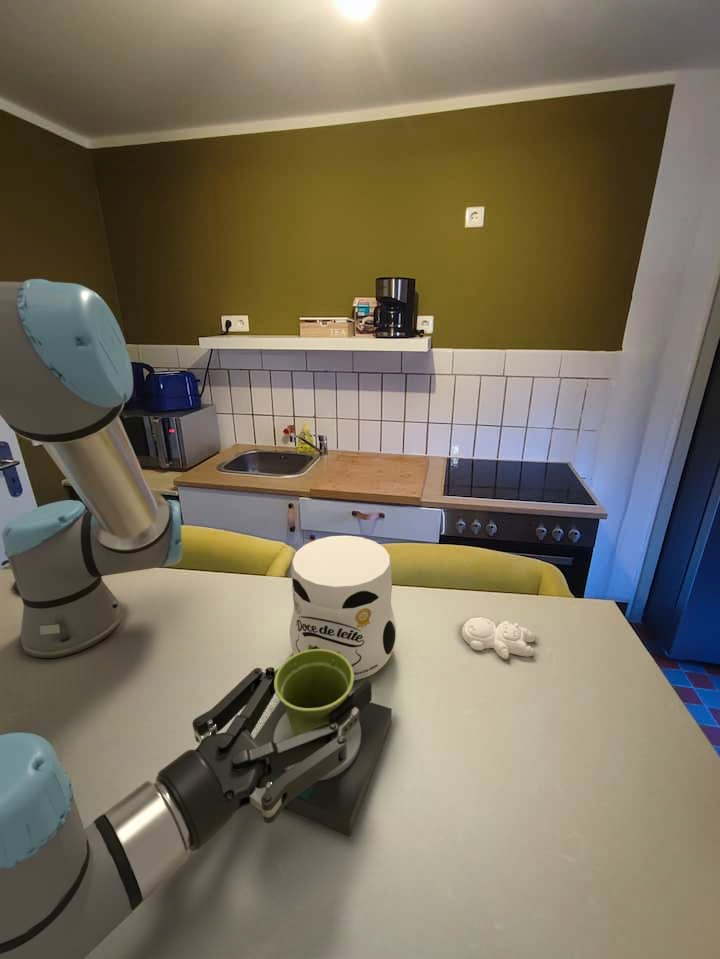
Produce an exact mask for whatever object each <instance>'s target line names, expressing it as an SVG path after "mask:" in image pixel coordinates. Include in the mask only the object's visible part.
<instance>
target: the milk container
mask: <svg viewBox="0 0 720 959" xmlns="http://www.w3.org/2000/svg"><path fill="white" fill-rule="evenodd" d="M290 576H291V581H292V584H291V590H292V591H291V592H292V598H293V599H292V600H293V611H292V615H291V620H290V624H289V640H290V643H291V644H290V645H291V649H292V652H293V654H294V655H295V654H297V653H300V652H303V651H306V650H310V649H312V648H313V647H314V646H317V647H318V648H319V649H326V650H331V651H334V652H337V653H339V654H340V655H342V656H343V657H345V658H346V659H347V660H348V661H349V663H350V664H351V666H352V669H353V672H354V682H358V681H361V680H364V679H366V678H369V677H372V676H373V675H375V674H376V673H377V672H378V671H380V670H382V669H383V667H384V666H385V665H386V664H387V662H388V661H389V659H390V658H391V657H392V654H393V651H394V648H395V643H396V637H397V621H396V618H395V614H394V611H393V608H392V592H393V583H392V582H393V581H392V560H391V555H390V554H389V552H388V551H387V549H386V547H384V546H383V545H381V544H379V543H378V542H377V541H374V540H371V539H368V538H366V537H364V536H363V537H362V536H355V535H354V536H353V535H331V536H326V537H322V538H317V539H314V540H313V541H310V542H308V543H306V544H304V545H303V546H301V548H299V549H298V550H297V551H296V552H295V554H294V556H293V558H292V560H291V570H290Z"/></svg>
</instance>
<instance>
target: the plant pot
mask: <svg viewBox="0 0 720 959" xmlns="http://www.w3.org/2000/svg"><path fill="white" fill-rule="evenodd" d="M278 668H279V669H278ZM278 668H277V669H278V671H277V673H276V676H275V680H274V688H275V695H276V697H277V698H278V700H279V701H281V702H282V703H283V705H284V706H285V709H286V712H287V715H288V718H289V722H290V725H291V729H292V732H293V736H297V735H299V734H302V733H304V732H307V731H310V730H312V729H315V728H317V727H320V726H323V725H325V724H328V723H329V714H330V713H331V712H333V711H334V710H335V709H336V708H337V707H338V706H339V705H340V704H341V703H342V702H343V701H345V700H346V699H347V697H348V695H349V694H350V693H351V691H352V689H353V686H354V683H355V681H354V672H353V669H352V666H351V664H350V663H349V661H348V660H347V659H346V658H345V657H343V656H342V655H340V654H339V653H337V652H334V651H331V650H326V649H312V650H306V651H303V652H300V653H297V654H295V655H292V656H290V657H289V658H288V659H286V660H285V661H284V662H283V663H282V664H281V665H280V666H279V667H278ZM292 668H293V669H292Z"/></svg>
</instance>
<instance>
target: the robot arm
mask: <svg viewBox="0 0 720 959" xmlns="http://www.w3.org/2000/svg"><path fill="white" fill-rule="evenodd" d="M133 373H134V372H133V368H132V361H131V358H130V355H129V353H128V351H127V343H126V340H125V336H124V335H123V332H122V330H121V327H120V325H119V323H118V321H117V318H116V317H115V315H114V314H113V312H112V310H111V308H110V307H109V306H108V304H107V303H106V301H105V300H104V299H103V298H102V297H101V296H100V295H99V294H98V293H97V292H95V291H94V290H92V289H90V288H89V287H86V286H85V285H82V284H79V283H73V282H60V281H59V282H58V281H55V282H54V281H50V280H48V279H45V278H44V279H43V278H32V279H27V280H25V281H0V417H1V418H2V419H3V420H4V422H5V423H6V424H7V426H8V427H9V428H10V429H11V430H12V431H13V432H14V433H15V434H16V435H18V436H19V437H21V438H23V439H25V440H28V441H31V442H35V443H39V444H41V445H42V446H43V447H44V449H45V450H46V452H47V453H48V454H49V456H50V457H51V459H52V460H53V461H54V463H55V464H56V466H57V467H58V469H59V470H60V472H61V473H62V474H63V476H64V477H65V478H66V480H67V482H68V483H69V484H70V486H71V487H72V488H73V490H74V491H75V492H76V494H77V495H78V496H79V498H80V499H81V501H80V500H73V499H70V500H69V499H66V500H60V501H55V502H50V503H47V504H43V505H40V506H38V507H35V508H33V509H30V510H27V511H25V512H23V513H21V514H19V515H18V516H16V517H14V518H13V519H12V520H10V521H9V522H8V523H6V525H5V526H4V527H3V529H2V532H1V537H2V542H3V548H4V555H5V557H6V558H7V559H6V560H3V561H2V562H1V566H5V565H7V564H9V567H10V569H11V572H12V575H13V577H14V580H15V581H14V583H13V588H14V590H15V591H16V592H17V593H19V595H20V597H21V600H22V601H21V602H22V604H23V610H22V618H21V629H20V642H21V646H22V648H23V650H24V652H25V653H26V654H28V656H31V657H33V658H39V659H54V658H61V657H66V656H70V655H73V654H77V653H79V652H82V651H84V650H86V649H89V648H90V647H93V646H95V645H96V644H98V643H100V642H102V641H103V640H105V639H106V638H107V637H109V636H110V635H111V634H112V633H113V632H114V631H115V630H116V629H117V628H118V626H119V625H120V623H121V621H122V619H123V610H122V606H121V604H120V602H119V600H118V598H117V597H116V595H115V594H114V593H113V592H112V591H111V590H110V588H109V587H108V585H107V584H106V583H105V582H104V580H103V577H105V576H113V575H120V574H124V573H125V574H126V573H131V572H137V571H138V572H139V571H145V570H151V569H157V568H158V569H163V568H165V567H169V566H174V565H176V564H178V563H180V562H181V560H182V559H183V546H182V545H183V542H182V541H183V540H182V517H181V516H182V515H181V503H180V502H179V501H178V500H176V499H175V500H172V499H165V497H164V496H163V495H162V494H160V493H159V492H158V491H156V490H154V489H152V488H151V487H150V485H149V482H148V481H147V478H146V476H145V474H144V471H143V469H142V466H141V465H140V462H139V460H138V456H137V455H136V453H135V451H134V447H133V446H132V444H131V441H130V438H129V436H128V434H127V432H126V430H125V427H124V425H123V422H122V420H121V418H120V415H121V413H122V411H123V409H124V406H125V403H127V402H129V400H130V399H131V397H132V395H133V390H134V374H133ZM86 508H87V509H86ZM312 649H319V648H318V647H317V646H314V647H313V648H312ZM312 649H310V650H312ZM279 668H280V667H278V668H277V669H275V668H274V667H272V666H270V667H267V668H266V669H264V671H265V672H264V671H263V670H262V668H260V667H256V668H253V670H251V671H250V672H249V673H248V674H247V675H246V676H245V677H244V678H243V679H242V680H240V682H239V683H237V685H235V687H234V688H232V689H231V690H230V691H229V692H228V693H227V694H226V695H225V696H224V697H223V698H222V699H221V700H219V701H218V703H216V704H215V705H214V706H213V707H212V708H211V709H210V710H207V711H206V712H204V713H203V714H200V715H198V716H197V717H195V718H194V719H193V720H192V728H193V734H194V739H195V742H197V743H199V744H198V746H197V747H196V748H195V749H188V750H186V751H185V752H183V753H182V754H180V755H179V756H178V757H177V758H175V759H173V761H171V762H169V763H168V764H167V765H166V766H164V767H162V769H161V770H159V771H158V773H157V776H156V777H155V782H153V781H151V780H145V781H144V782H143V783H141V784H140V785H139V786H137V787H136V788H135V789H134V790H132V791H131V792H130V793H128V794H127V795H126V796H124V797H123V798H122V799H121V800H118V802H117V803H115V804H114V805H113V806H111V807H110V808H109V809H108V810H106V811H105V812H104V813H103V814H101V815H99V816H97V818H94V821H92V822H91V823H90V824H89V825H87V826H86V827H84V824H83V821H82V818H81V814H80V811H79V809H78V806H77V802H76V799H75V796H74V788H73V787H72V779H71V778H70V776H69V774H68V772H67V771H65V769H64V767H63V766H62V763H61V761H60V760H59V758H58V754H57V753H56V752H55V749H54V747H53V746H52V744H51V743H50V742H49V741H48V740H47V739H46V738H45V737H43V736H40V735H38V734H35V733H32V732H9V733H4V734H0V959H85V958H87V956H89V955H90V953H92V952H93V951H94V950H95V949H96V948H97V947H98V946H99V945H100V944H101V943H102V942H103V941H104V940H105V939H106V938H107V937H109V935H111V933H113V931H115V930H116V928H118V927H119V926H120V925H121V924H122V923H123V922H124V921H125V920H126V919H127V918H128V917H129V916H130V915H131V914H132V913H133V911H134V910H136V909H137V908H138V907H139V906H140V905H141V904H142V903H143V902H144V901H145V900H146V899H147V898H148V897H149V896H151V895H152V894H153V893H154V892H155V891H156V890H157V889H158V888H159V887H160V886H161V885H163V883H164V882H165V881H167V880H168V879H169V878H170V877H171V876H172V875H173V874H174V873H175V872H176V871H177V870H179V868H181V867H182V865H183V864H185V863H186V862H187V860H188V850H190V851H192V852H194V851H200V849H201V848H203V847H204V846H205V845H206V844H207V843H208V841H210V840H211V839H212V838H213V837H214V836H215V835H216V834H217V833H218V832H219V831H220V830H221V829H223V828H224V827H225V825H227V824H228V822H229V821H230V819H231V818H232V816H233V815H234V814H235V813H236V812H237V811H238V810H240V809H242V808H245V807H247V806H249V805H252V806H253V807H255V808H256V809H257V810H259V811H260V812H261V813H262V818H263V821H264V822H265V823H266V824H271V823H273V822H274V821H275V820H276V819H277V818H278V816H279V815H280V814H281V812H282V811H283V810H284V808H285V805H286V804H287V803H288V802H290V801H291V800H293V799H294V798H295V797H297V796H298V795H299V794H301V793H302V792H304V791H305V790H306V789H308V788H309V787H310V786H312V785H313V784H314V783H316V782H317V781H319V780H320V779H321V778H323V777H324V776H325V775H327V774H328V773H330V772H331V771H332V770H334V769H335V768H336V767H338V766H339V765H340V764H342V763H343V762H345V761H346V759H347V743H346V738H345V737H344V736H345V735H346V734H347V733H348V732H349V731H350V730H351V728H353V727H354V726H355V725H356V724H357V723H358V720H359V712H360V711H361V710H362V709H363V708H364V707H365V706H366V705H367V704H368V703H369V702H371V701H372V695H373V694H372V687H373V686H372V685H373V684H372V682H370V681H368V679H366V680H365V681H364V682H362V684H360V685H359V686H358V688H356V689H355V690H354V691H353V692H352V693H351V694H350V696H349V697H348V698H347V699H346V700H345V701H343V702H342V703H341V704H340V705H339V706H338V707H337V708H336V709H335V710H334V711H333V712H331V713H330V714H329V723H328V724H325V725H323V726H320V727H317V728H315V729H312V730H310V731H307V732H304V733H302V734H299V735H297V736H294V737H291V738H289V739H286V740H284V741H281V742H278V743H274V742H269V743H266V744H264V745H262V744H261V743H260V742H258V741H256V740H254V737H253V735H252V733H253V732H254V729H255V728H256V726H257V725H258V723H259V721H260V719H261V718H262V716H263V714H264V713H265V711H266V710H267V708H268V706H269V705H270V703H271V701H272V700H273V697H274V696H275V695H276V692H275V688H274V680H275V676H276V673H277V671H278V669H279ZM292 669H293V668H292ZM232 720H233V721H232ZM231 721H232V722H231ZM230 722H231V723H230ZM229 723H230V725H229V726H228V728H227V729H226V731H224V732H220V731H222V730H223V729H224V727H226V726H227V725H228V724H229ZM219 732H220V733H219ZM266 758H269V763H268V764H266ZM299 762H300V763H299ZM296 763H298V764H297V765H295V766H294V767H292V768H291V769H289V770H288V771H286V772H285V773H283V774H282V775H281V776H279V777H278V778H277V779H276V780H275V781H274V782H273V784H272V782H268V783H267V784H266V786H265V787H264V788H259V787H260V784H261V781H264V780H266V779H269V778H271V777H273V776H276V775H277V774H278V773H279V771H280V770H282V769H284V768H287V767H289V766H292V765H294V764H296Z"/></svg>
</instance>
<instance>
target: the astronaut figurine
mask: <svg viewBox="0 0 720 959" xmlns="http://www.w3.org/2000/svg"><path fill="white" fill-rule="evenodd" d="M461 635H462V638H463V639H464V641H465V642H466V643H467V644H468V645H469V646H470V648H471V649H472V650H474V651H483V650H484V649H485V650H487V649H493V650H494V651H495V652H496V654H497V655H498V657H500V658H502V659H503V660H508V659H509V657H510V654H512V655H517V656H520V657H526V658H529V657H531V656H532V657H533V655H534V653H535V650H534V649H533V648H532V646H531V645H528V643H533V642H534V641H535V640H536V634H535V633H533V631H531V630H529V629H528V628H526V627H522V626H519V622H515V623H514V624H513V623H511V622H510V621H508V620H504V621H501V622H500V623H499V624H498V625H497V626H496V624H495V623H494V621H492V620H491V619H488V618H486V617H484V616H478V617H472V618H470V619H468V620H466V621H465V623H464V624H463V626H462V630H461Z"/></svg>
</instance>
